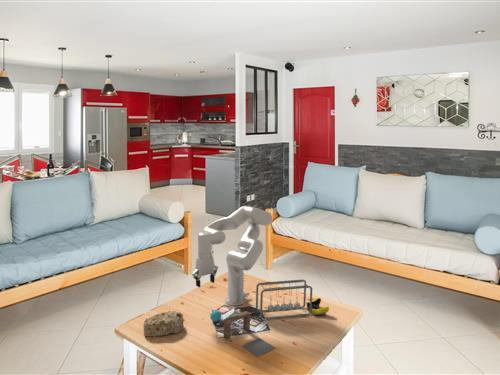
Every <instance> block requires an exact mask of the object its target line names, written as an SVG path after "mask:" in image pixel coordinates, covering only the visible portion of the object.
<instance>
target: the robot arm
mask: <svg viewBox="0 0 500 375" xmlns="http://www.w3.org/2000/svg"><path fill="white" fill-rule="evenodd" d="M246 222H247V229H246V231H245V232H244V233H243V235H242V236H241V238H240V239H239V241H238V244H237V248H238V250H236V249H234V250H230V251H228V253H227V254H226V258H225V261H226V265H227V296H226V297H225V299H224V301H225V304H227V305H228V306H234V307H235V306H242V305H244V304H245V303H246V302H247V299H246V297H247V296H250V292H249V291H245V290H244V288H245V287H244V282H245V280H244V279H245V273H244V271H246V272H247V271H250V270H251V269H252V268H253V267H254V266H255V264H256V262H257V260H258V259H259V257H260V256H261V254H262V252H263V248H264V245H263V242H262V240H260V239H259V237H260V233H261V229H260V225H261V226H265V227H266V226H269V225H271V224H272V222H273V215H272V214H271V212H270V211H266V210H264V209H260V208H258V207H254V206H249V205H242V206H241V207H239V208H237V209H236V210H235V211H234V212H232V213H231V214H230V215H228V216H227V217H223V218H220V219H217V220H215V221H212V222H211V223H210V224H208V225H207V226H205V227H204V229H203V230H202V231H201V232H199V233H198V234H197V256H198V257H196V261H195V268H194V269H195V270H194V271H193V272H191V276H192V278H193V279H194V280H195V286H196V287H198V288H201V278H202V277H204V276H207V275H210V276H209V282H210V283H212V284H214V283H215V278H216V274H217V272H218V269H219V266H217V265H215V260H214V256H213V253H214V250H213V245H221V244H222V243H224V242H225V240H226V233H225V232H224V231H233V230H237V229H238V228H239V227H241V225H243V224H244V223H246Z"/></svg>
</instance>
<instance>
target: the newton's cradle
mask: <svg viewBox="0 0 500 375" xmlns="http://www.w3.org/2000/svg"><path fill="white" fill-rule="evenodd" d="M298 283H304V284H303V285H298ZM285 284H288V285H289V286H285ZM291 284H295V285H294V286H293V285H291ZM273 285H276V287H272V286H273ZM278 285H283V286H282V287H281V286H278ZM259 286H261V288H262V289H263V290H261V291H260V302H259ZM264 286H269V287H268V288H265V287H264ZM255 288H256V289H255V311H256V312H257V311H259V310H260V312H259V317H260V319H261V318H263V317H264V316H263V317H262V315H263V313H267V312H270V313H271V312H279V311H289V310H290V311H292V310H299V308H301V310H302V311H303V312H304V313H302V314H301V313H299V314H291V315H281V316H279V315H278V316H271V317H264V319H266V320H265V321H269V320H279V319H288V318H289V317H290V318H299V317H298V316H300V317H306V316H307V315H308V316H310V315H312V314H311V310H312V300H313V286H310V285H308V284H307V281H306V280H305V279H293V280H279V281H267V282H266V281H265V282H264V281H263V282H258V283H257V284H256V287H255ZM299 289H300V290H301V289H303V304H302V306H301V304H300V302H298V300H299V297H298V293H295V295H296V302H294V304H293V303H291V302H292V301H291V300H289V302H288V303H287V304H285V298H286V296H283V298H282V300H283V302H282V304H278V303H279V302H276V304H274V305H273V304H272V302H273V300H272V298H273V297H272V296H269V298H270V300H269V302H270V303H269V304H268V305H267V309H263V302H264V301H263V296H264V292H274V291H276V292H277V296H279V293H280V292H278V291H284V290H285V291H286V290H289V294H290V295H292V293H293V291H291V290H297V291H299ZM307 289H309V290H310V291H309V294H310V295H309V302H310V309H309V311H308V313H307V312H306V311H305V309H304V308H305V307H306V303H307V302H306V300H307V299H306V295H307ZM259 303H260V305H259ZM259 307H260V308H259ZM308 316H307V317H308Z"/></svg>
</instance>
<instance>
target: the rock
mask: <svg viewBox="0 0 500 375" xmlns="http://www.w3.org/2000/svg"><path fill="white" fill-rule="evenodd" d="M183 316H184V315H183V313H182V312H178V311H175V310H173V311H171V310H169V311H167V312H165V311H164V312H161V313H156V314H154V315H153V316H151V317H146V319H145V320H144V321H143V334H144V336H145V337H147V336H148V337H160V336H161V337H162V336H167V335H169V334H171V333H172V334H179V333H180V332H182V331H183V330H184V328H185V327H184V317H183Z"/></svg>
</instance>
